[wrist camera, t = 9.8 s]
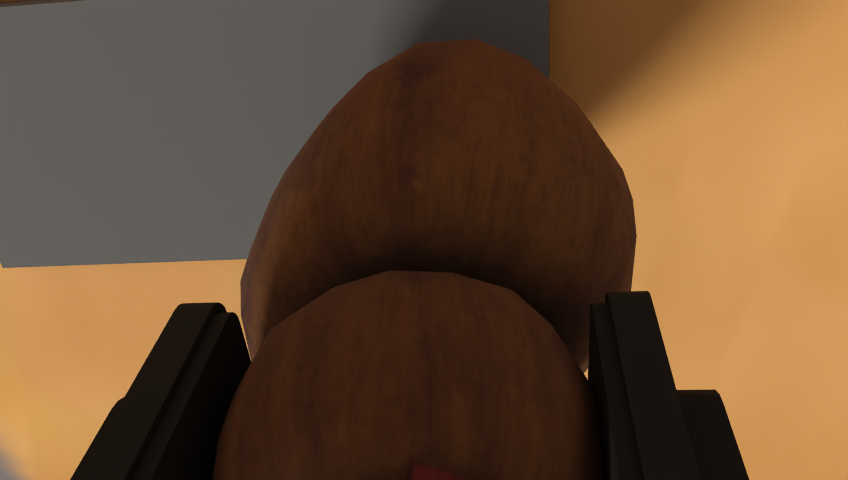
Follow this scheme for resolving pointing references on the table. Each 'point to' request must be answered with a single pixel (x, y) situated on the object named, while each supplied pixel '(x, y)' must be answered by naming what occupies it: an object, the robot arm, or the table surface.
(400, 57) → the wooden figurine
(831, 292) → the table surface
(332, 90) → the mat
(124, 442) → the robot arm
